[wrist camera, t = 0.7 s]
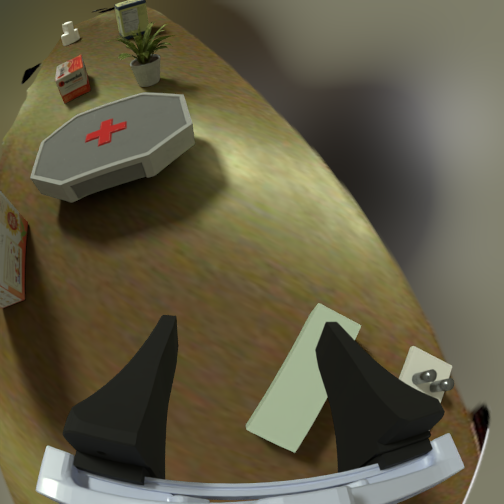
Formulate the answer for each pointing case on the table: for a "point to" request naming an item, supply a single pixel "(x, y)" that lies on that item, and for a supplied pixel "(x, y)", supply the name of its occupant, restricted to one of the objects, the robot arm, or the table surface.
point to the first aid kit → (113, 145)
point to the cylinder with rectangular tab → (69, 34)
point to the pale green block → (297, 386)
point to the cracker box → (12, 253)
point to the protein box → (131, 17)
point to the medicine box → (72, 79)
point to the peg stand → (426, 373)
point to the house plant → (145, 56)
